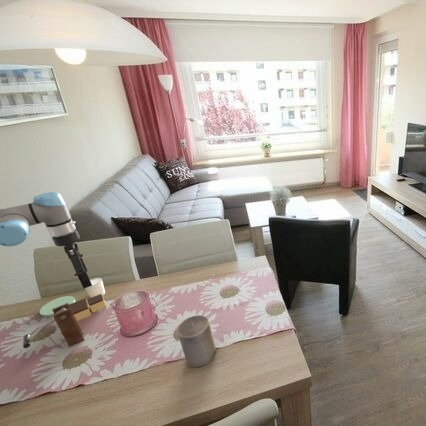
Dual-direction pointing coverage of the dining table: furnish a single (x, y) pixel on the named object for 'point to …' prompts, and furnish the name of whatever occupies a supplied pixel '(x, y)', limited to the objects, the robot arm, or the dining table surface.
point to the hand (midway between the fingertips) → (85, 279)
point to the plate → (55, 305)
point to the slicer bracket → (68, 325)
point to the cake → (80, 309)
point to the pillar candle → (197, 341)
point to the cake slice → (96, 303)
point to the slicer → (38, 332)
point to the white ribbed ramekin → (95, 287)
